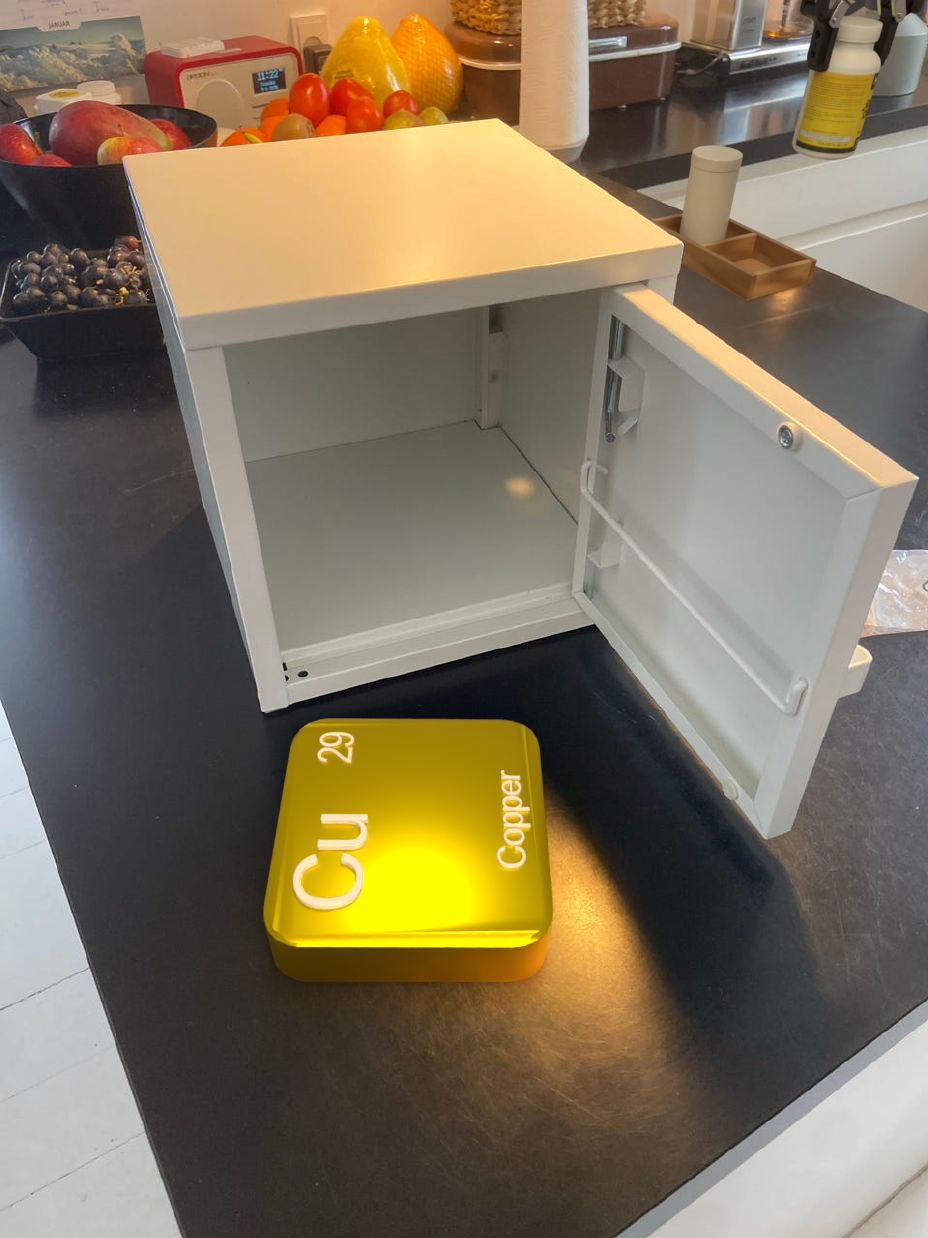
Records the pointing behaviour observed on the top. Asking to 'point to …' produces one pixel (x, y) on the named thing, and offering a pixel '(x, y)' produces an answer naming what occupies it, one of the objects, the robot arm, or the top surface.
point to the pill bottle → (840, 93)
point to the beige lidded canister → (710, 193)
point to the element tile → (411, 853)
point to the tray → (744, 260)
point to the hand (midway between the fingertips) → (845, 66)
